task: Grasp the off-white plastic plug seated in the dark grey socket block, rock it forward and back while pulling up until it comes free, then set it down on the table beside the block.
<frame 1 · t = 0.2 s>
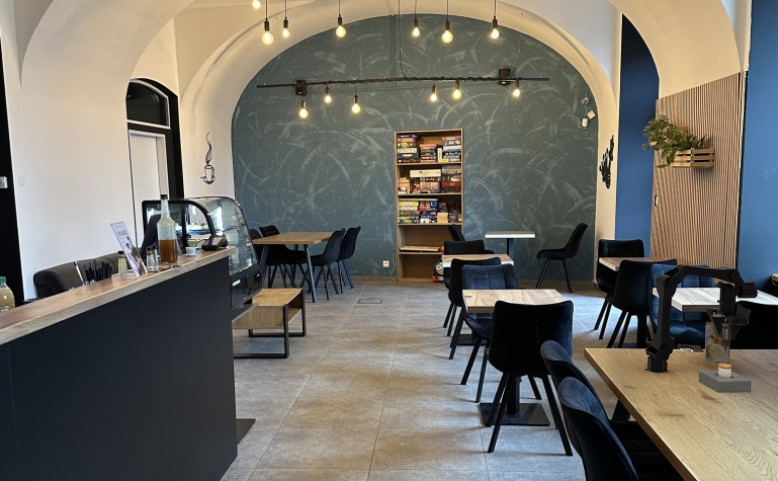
hand: (725, 336, 226), 14 cm above the table, fingers open, 9 cm apart
coffee box: (716, 361, 242), on the table
header: (723, 389, 207), on the table
plug: (724, 386, 207), point 1 cm above the table, touching header
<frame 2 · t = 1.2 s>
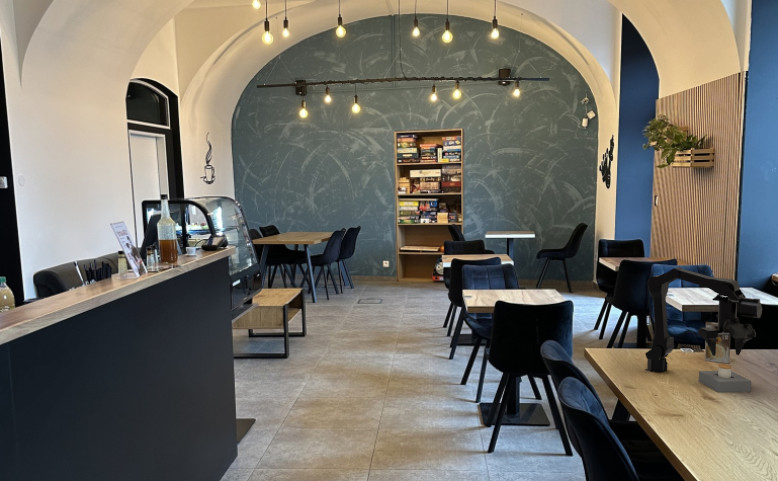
hand: (725, 355, 207), 13 cm above the table, fingers open, 9 cm apart
nothing on the table moved.
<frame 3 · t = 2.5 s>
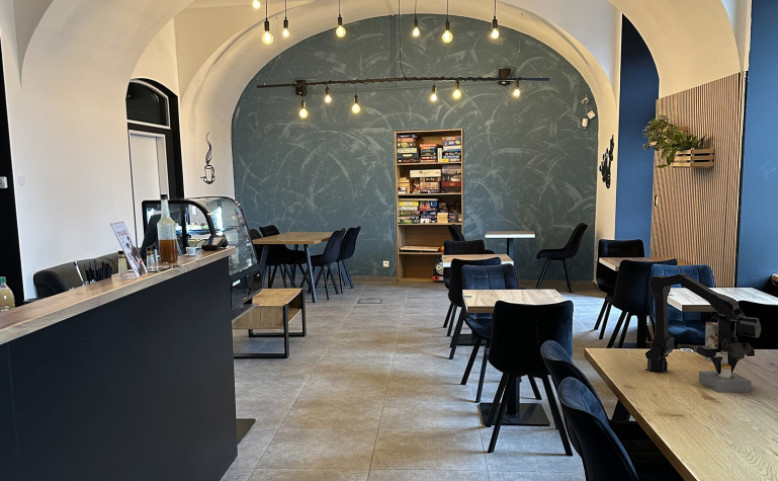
hand: (724, 373, 207), 6 cm above the table, fingers closed on plug, 4 cm apart
plug: (724, 386, 207), point 1 cm above the table, touching gripper, header
everything else where it was.
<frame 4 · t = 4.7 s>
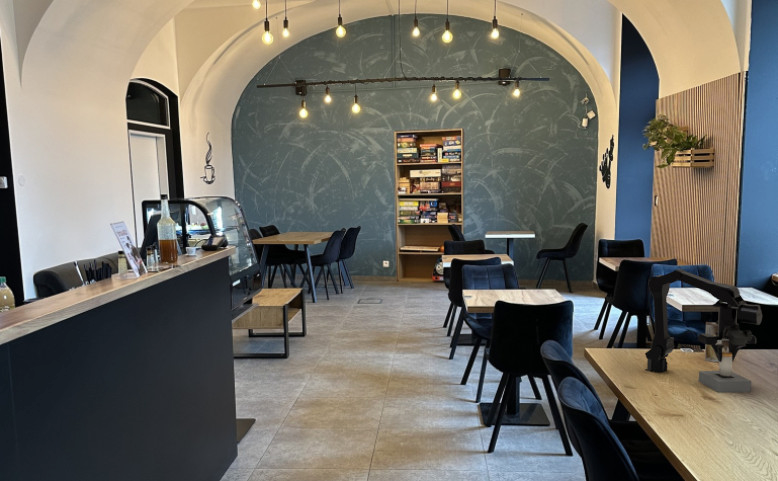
hand: (725, 361, 206), 10 cm above the table, fingers closed on plug, 4 cm apart
plug: (725, 374, 207), point 6 cm above the table, touching gripper
everything else where it was.
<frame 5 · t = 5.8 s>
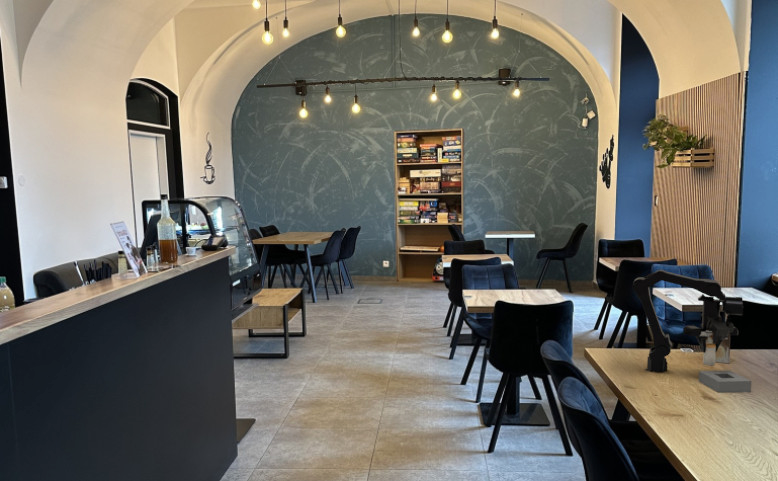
hand: (709, 352, 217), 11 cm above the table, fingers closed on plug, 4 cm apart
plug: (709, 364, 218), point 6 cm above the table, touching gripper
everything else where it was.
when the fingers open (6 cm above the table, at t = 6.9 s): plug drops 1 cm, on the table.
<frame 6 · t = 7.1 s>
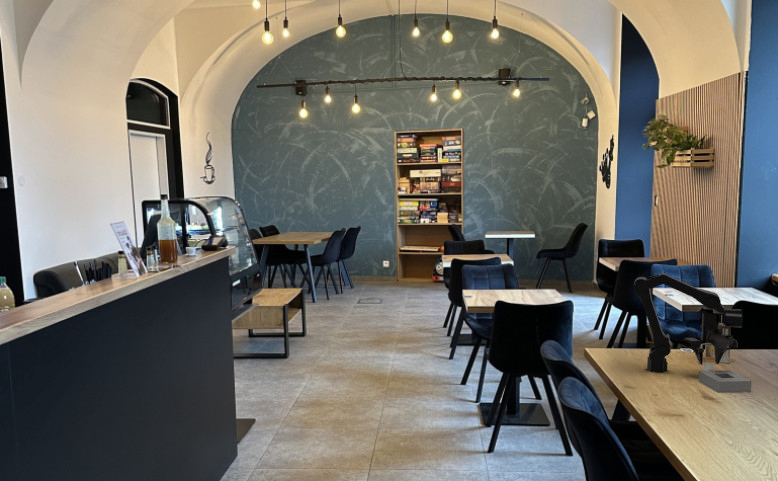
hand: (709, 364, 218), 6 cm above the table, fingers open, 6 cm apart
plug: (708, 379, 218), on the table
everything else where it was.
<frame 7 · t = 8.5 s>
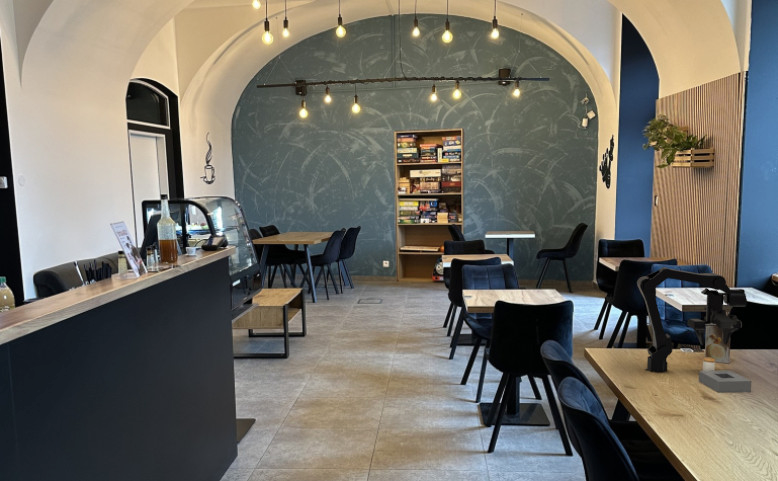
hand: (713, 344, 221), 13 cm above the table, fingers open, 9 cm apart
nothing on the table moved.
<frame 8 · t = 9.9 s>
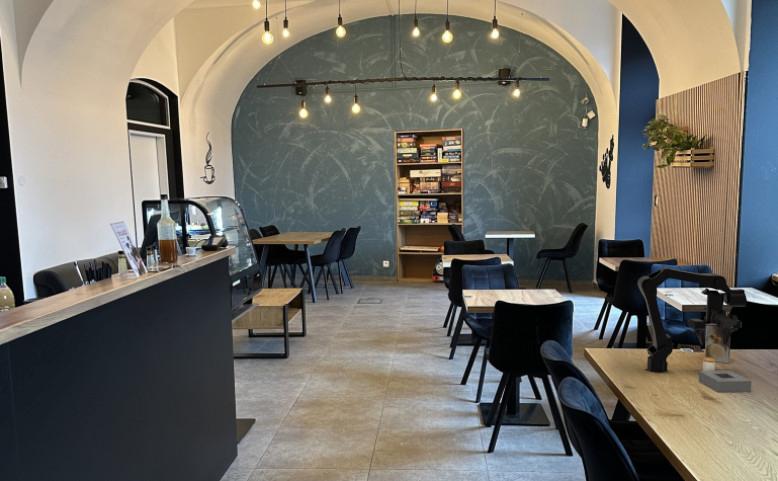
hand: (713, 344, 221), 12 cm above the table, fingers open, 9 cm apart
nothing on the table moved.
at the end: plug inside the target area (0.8 cm from its centre), on the table; plug touching table; the gripper is holding nothing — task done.
